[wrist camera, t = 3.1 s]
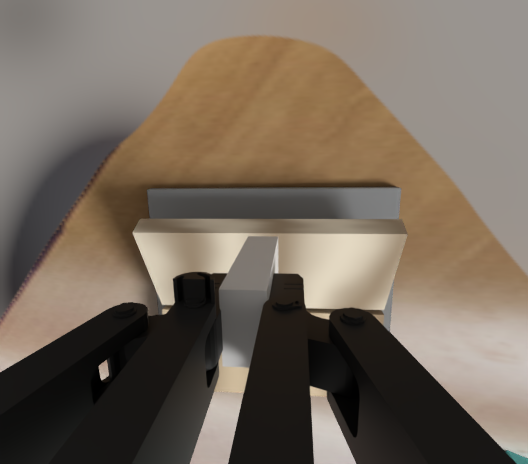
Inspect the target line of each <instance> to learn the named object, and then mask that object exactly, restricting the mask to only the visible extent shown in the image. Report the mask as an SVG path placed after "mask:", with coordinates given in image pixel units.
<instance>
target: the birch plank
mask: <svg viewBox="0 0 528 464" xmlns="http://www.w3.org/2000/svg"><path fill="white" fill-rule="evenodd" d="M133 235H134V238H135V240H136V243H137V245H138V247H139V250H140V252H141V255H142V257H143V260H144V262H145V264H146V267H147V269H148V272H149V274H150V277H151V279H152V281H153V284H154V286H155V289H156V291H157V294H158V296H159V298H160V301H161V303H162V305H173V304H174V303H175V300H174V288H173V278H174V277H176V276H178V275H181V274H183V273H189V272H207V273H210V274H213V273H228V272H229V270H230V268H231V266H232V264H233V263H234V261H235V259H236V257H237V255H238V254H239V252H240V250H241V248H242V246H243V245H244V243H245V241H246V239H247V237H248V236H278V273H287V274H299V275H300V276H301V277H302V278H303V282H304V301H305V306H306V308H319V309H341V308H350V307H353V308H355V309H356V308H359V309H362V310H384V309H385V306H386V303H387V299H388V296H389V293H390V290H391V286H392V283H393V280H394V277H395V273H396V270H397V267H398V264H399V260H400V257H401V254H402V251H403V248H404V244H405V241H406V238H407V235H408V234H407V231H406V229H405V226H404V223H403V221H402V219H140V220H139V222H138V223H137V225H136V227H135V229H134V231H133Z"/></svg>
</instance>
